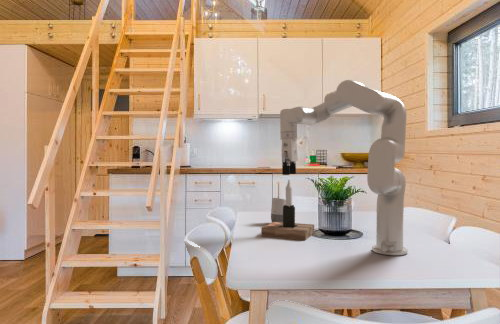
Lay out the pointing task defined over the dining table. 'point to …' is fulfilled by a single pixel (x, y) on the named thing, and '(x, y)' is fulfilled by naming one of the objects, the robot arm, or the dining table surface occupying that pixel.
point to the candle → (289, 209)
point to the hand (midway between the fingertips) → (289, 174)
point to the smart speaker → (277, 209)
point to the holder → (287, 231)
